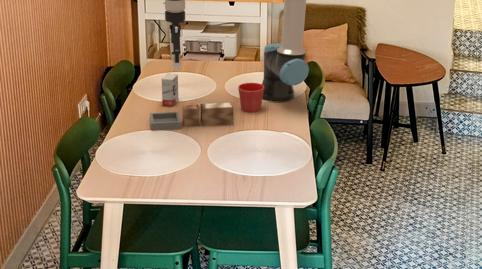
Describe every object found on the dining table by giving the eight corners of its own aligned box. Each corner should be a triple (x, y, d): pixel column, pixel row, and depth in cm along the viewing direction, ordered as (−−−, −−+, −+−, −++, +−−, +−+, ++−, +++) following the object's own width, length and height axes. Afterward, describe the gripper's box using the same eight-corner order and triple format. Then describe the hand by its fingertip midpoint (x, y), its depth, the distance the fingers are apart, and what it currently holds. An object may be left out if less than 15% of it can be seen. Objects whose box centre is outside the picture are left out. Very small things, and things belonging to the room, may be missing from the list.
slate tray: (178, 118, 272) (177, 111, 271) (180, 128, 262) (180, 122, 261) (150, 119, 270) (149, 113, 269) (151, 130, 260) (151, 123, 259)
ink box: (173, 106, 284) (172, 79, 280) (161, 105, 285) (160, 78, 281) (179, 100, 292) (178, 73, 288) (167, 99, 293) (167, 72, 288)
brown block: (198, 121, 270) (198, 104, 267) (199, 126, 265) (199, 108, 262) (182, 122, 269) (182, 104, 266) (184, 126, 264) (183, 109, 261)
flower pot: (234, 111, 280) (234, 89, 276) (243, 103, 290) (243, 81, 286) (258, 115, 277) (259, 92, 273) (267, 106, 286) (267, 84, 282)
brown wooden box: (230, 118, 272) (230, 101, 270) (233, 124, 267) (233, 107, 264) (200, 120, 270) (200, 103, 268) (202, 126, 265) (202, 108, 262)
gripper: (163, 3, 267) (164, 56, 275) (166, 18, 244) (167, 75, 252) (182, 3, 268) (183, 56, 276) (187, 17, 245) (188, 74, 253)
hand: (175, 65), depth 264 cm, fingers open, 13 cm apart
